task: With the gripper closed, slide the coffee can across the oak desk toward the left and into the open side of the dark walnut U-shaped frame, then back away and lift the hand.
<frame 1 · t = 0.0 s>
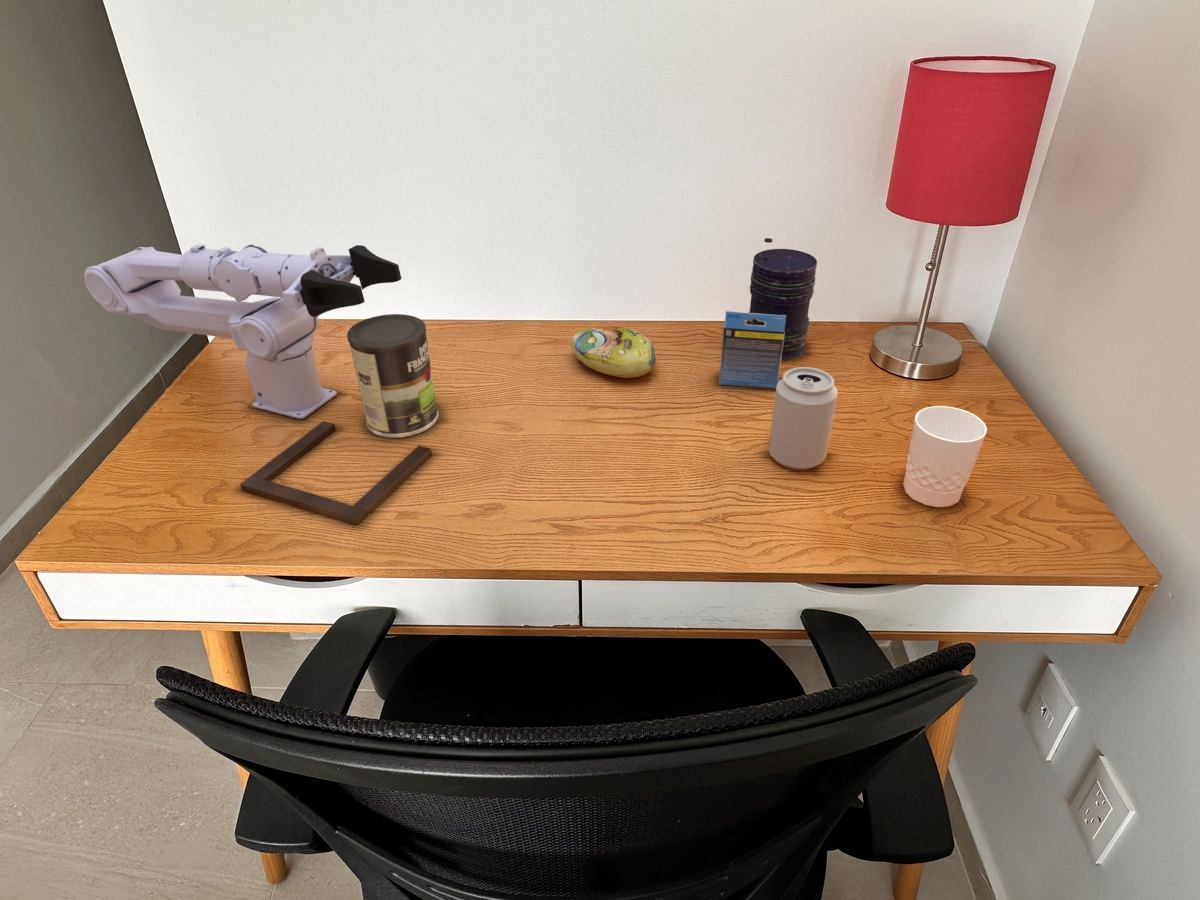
hand: (380, 283, 99), 22 cm above the table, tool horizontal, fingers open, 7 cm apart
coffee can: (402, 419, 114), on the table
white cup: (931, 492, 99), on the table
can: (796, 458, 105), on the table
cell model: (613, 367, 126), on the table
walnut frame: (344, 467, 104), on the table
label tape box: (747, 383, 122), on the table
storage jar: (774, 348, 131), on the table
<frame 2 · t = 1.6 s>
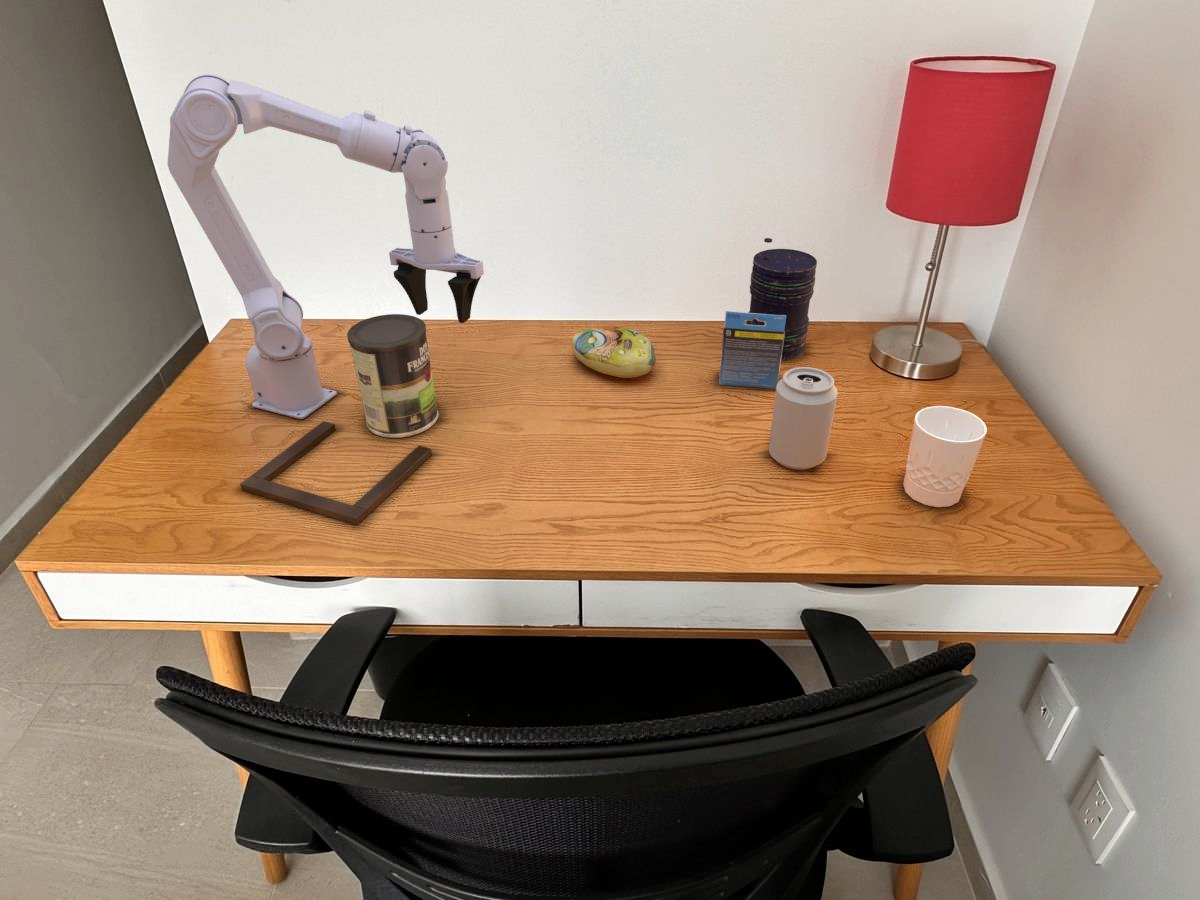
hand: (443, 316, 118), 10 cm above the table, tool pointing down, fingers open, 7 cm apart
nothing on the table moved.
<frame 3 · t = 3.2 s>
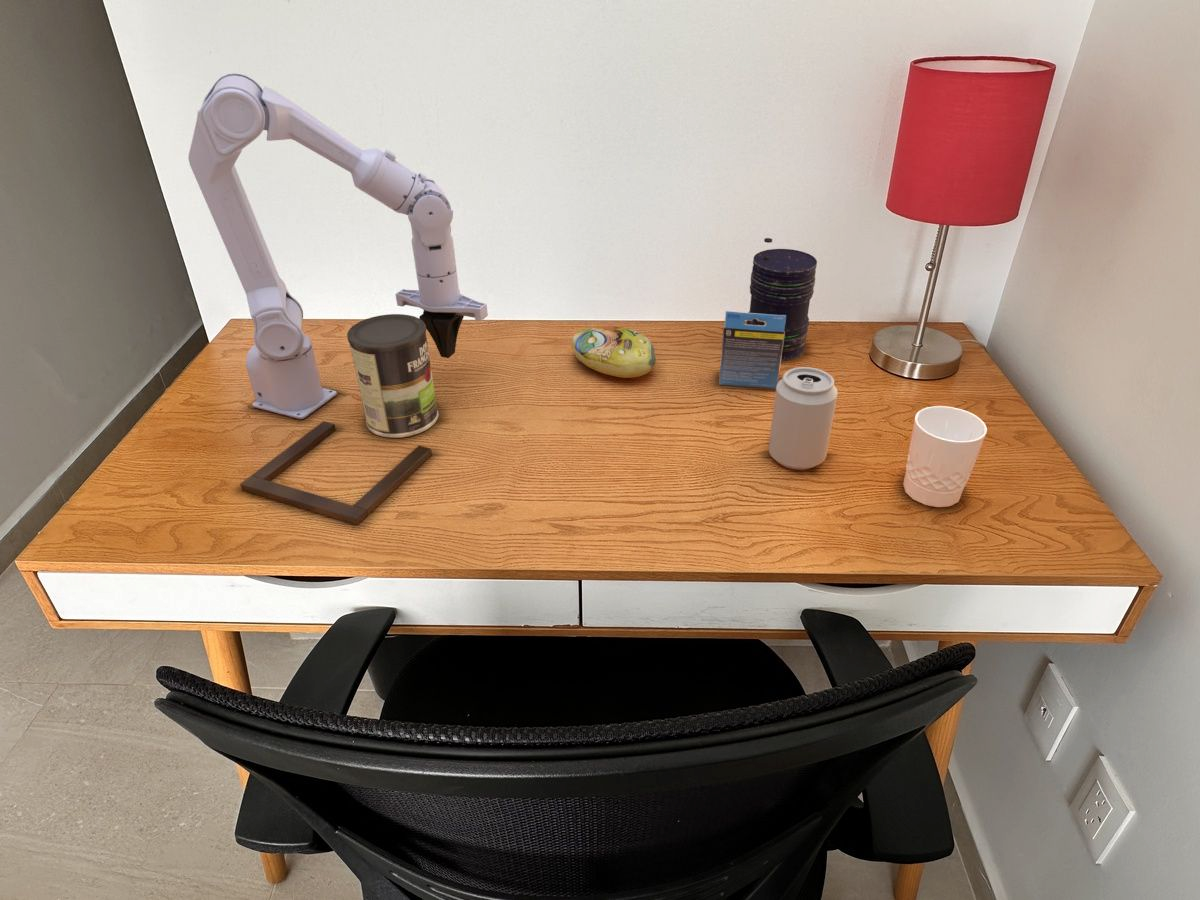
hand: (448, 354, 121), 4 cm above the table, tool pointing down, fingers closed
nothing on the table moved.
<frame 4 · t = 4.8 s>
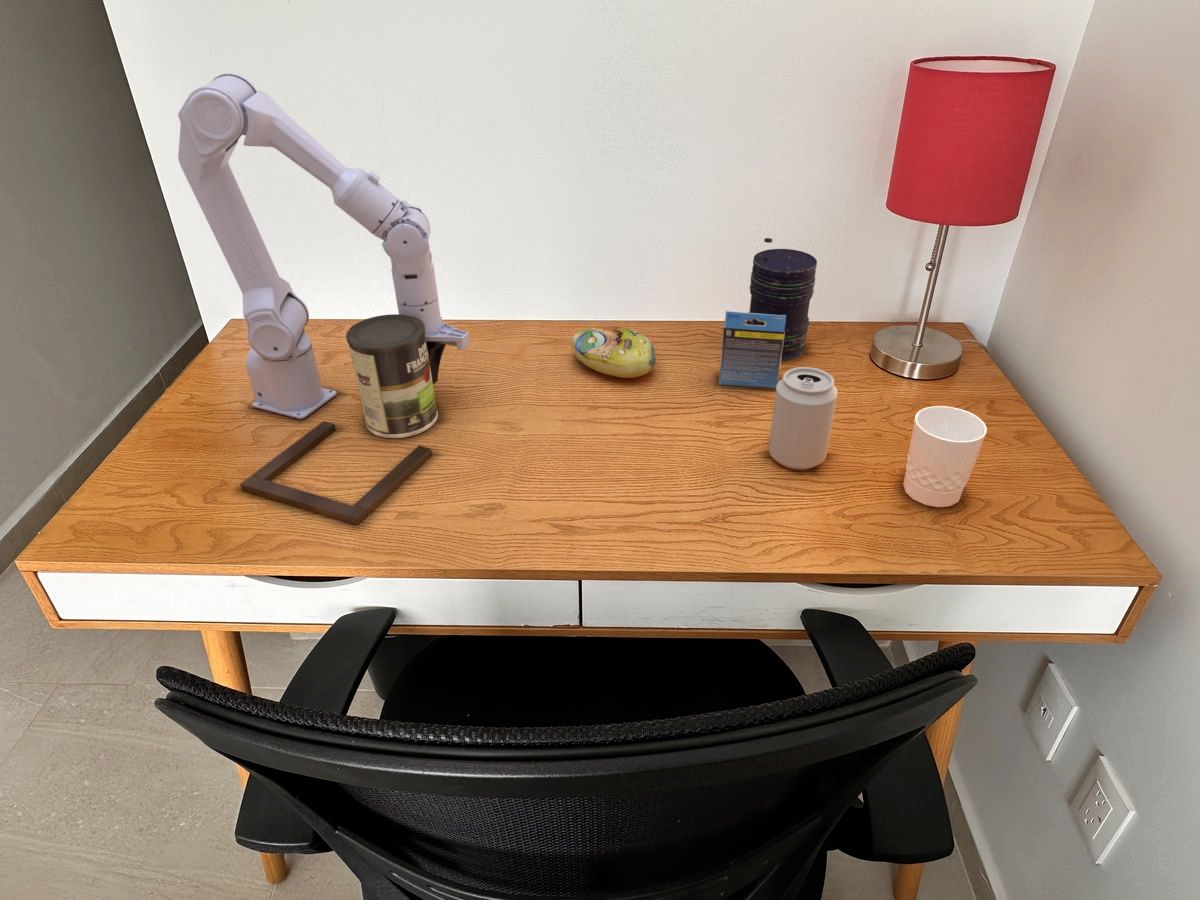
hand: (430, 382, 119), 2 cm above the table, tool pointing down, fingers closed, pressing on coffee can
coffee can: (402, 420, 114), on the table, touching gripper
everything else where it was.
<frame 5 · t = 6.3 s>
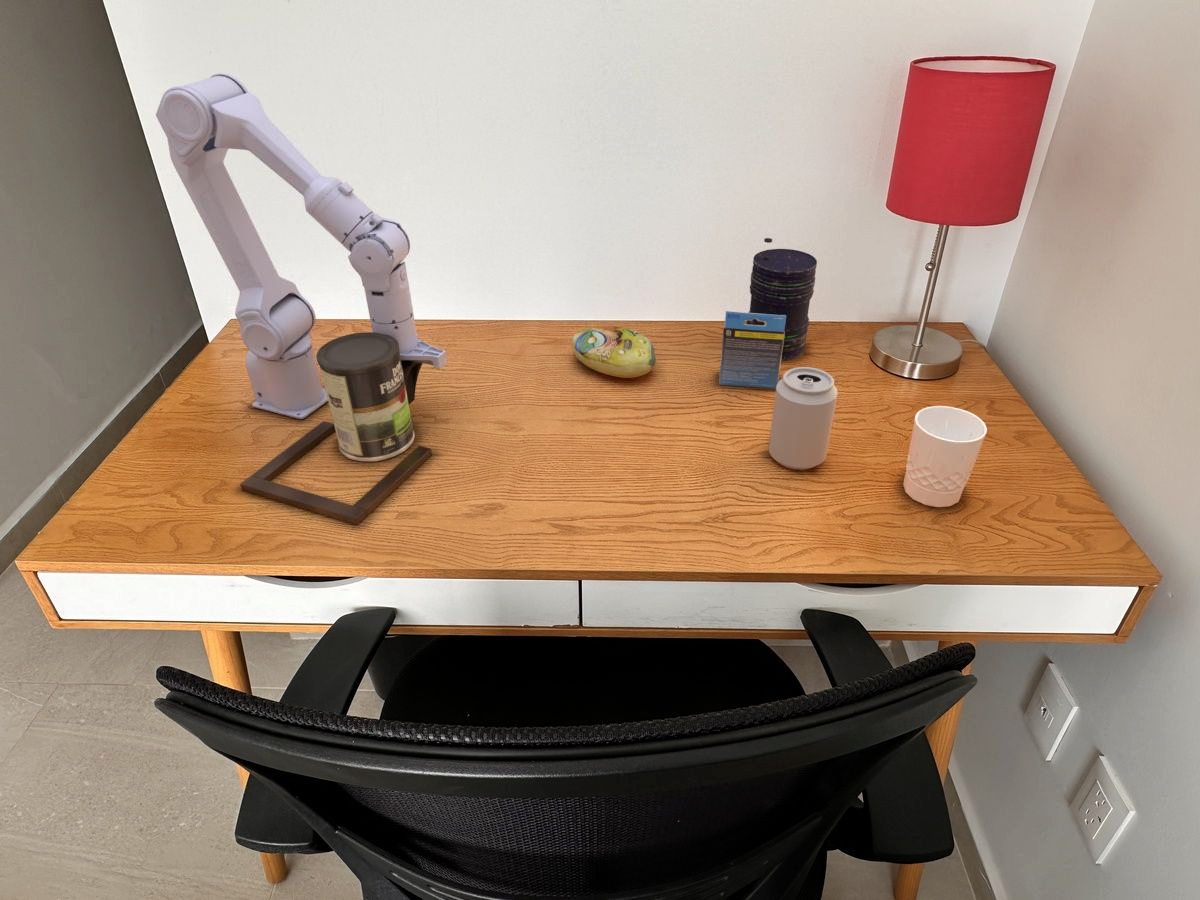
hand: (407, 402, 114), 2 cm above the table, tool pointing down, fingers closed, pressing on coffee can
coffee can: (377, 441, 109), on the table, touching gripper
everything else where it was.
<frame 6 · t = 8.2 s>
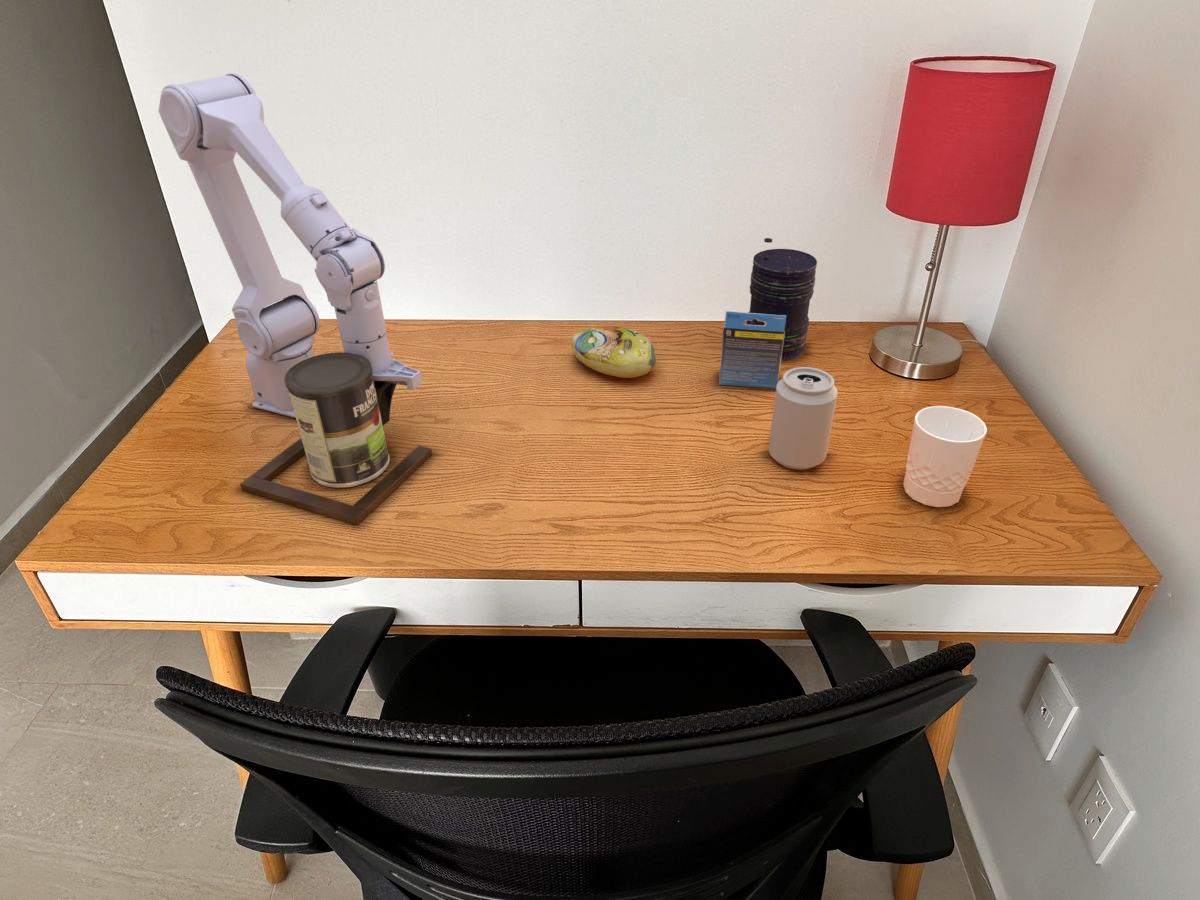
hand: (381, 423, 110), 2 cm above the table, tool pointing down, fingers closed
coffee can: (350, 466, 105), on the table, touching gripper
everything else where it was.
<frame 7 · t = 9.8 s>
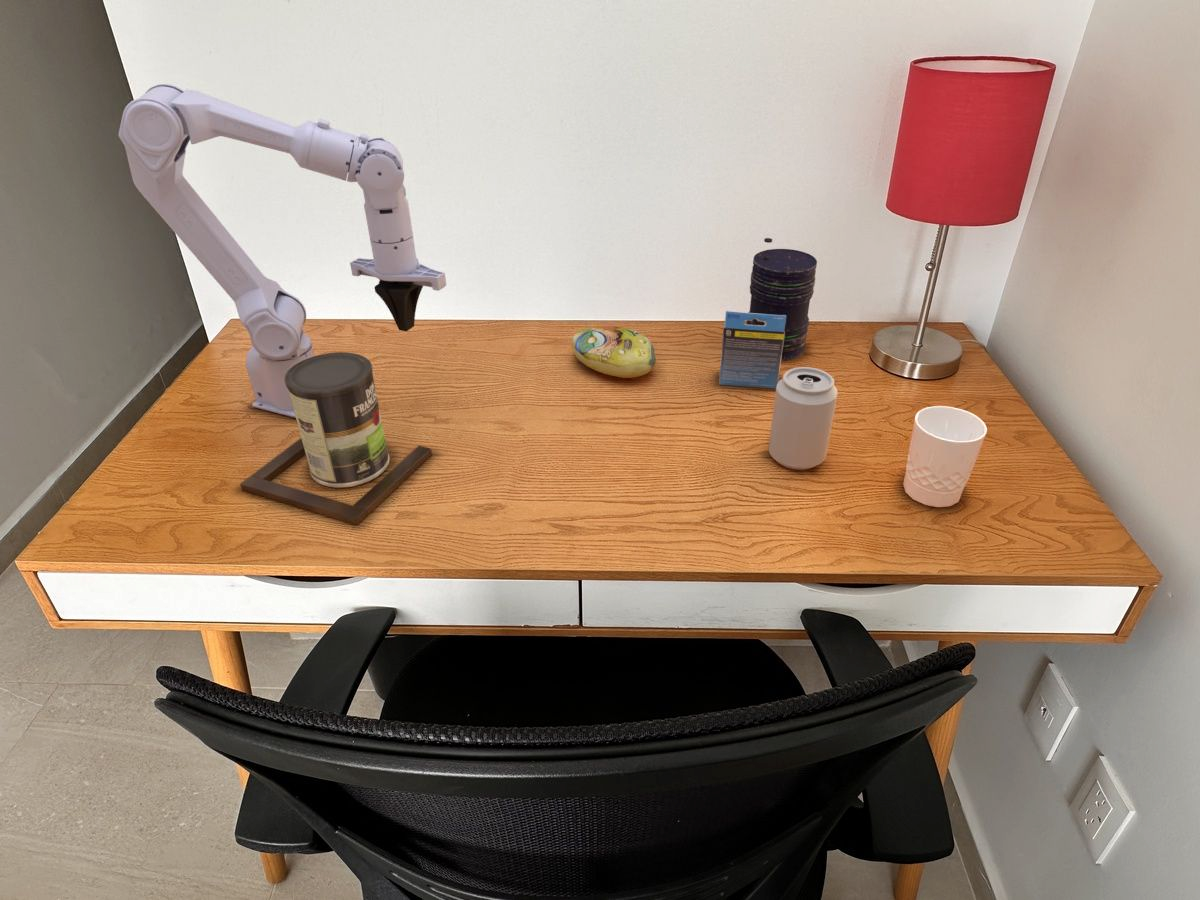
hand: (406, 328, 115), 10 cm above the table, tool pointing down, fingers closed
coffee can: (350, 466, 105), on the table
everything else where it was.
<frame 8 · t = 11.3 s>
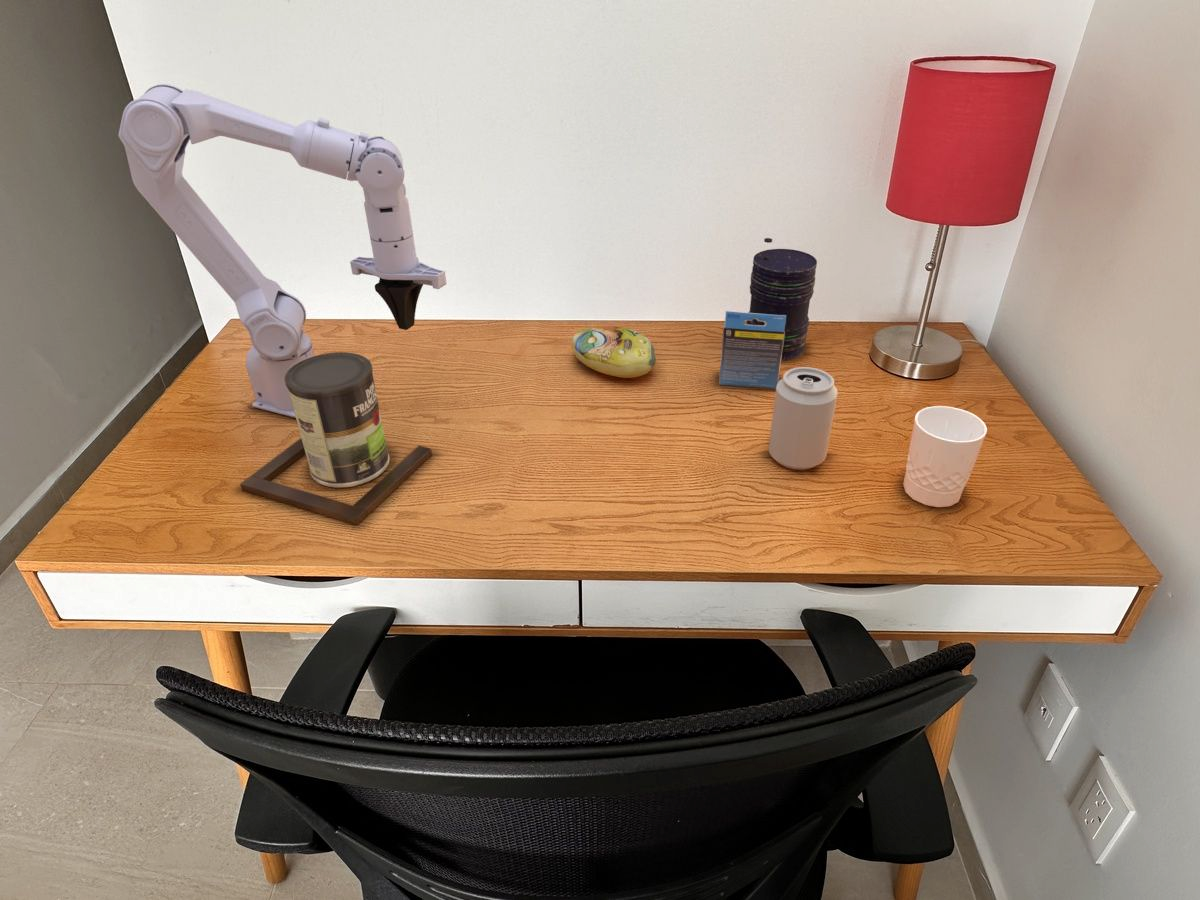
hand: (406, 326, 115), 10 cm above the table, tool pointing down, fingers closed
nothing on the table moved.
at the end: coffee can inside the target area on the walnut frame (1.3 cm from its centre), point 0.0 cm above the walnut frame's base; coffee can tilted 0°; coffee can moved 12.2 cm from its start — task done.
